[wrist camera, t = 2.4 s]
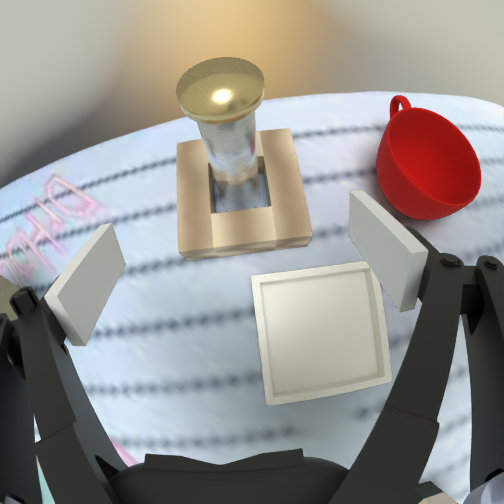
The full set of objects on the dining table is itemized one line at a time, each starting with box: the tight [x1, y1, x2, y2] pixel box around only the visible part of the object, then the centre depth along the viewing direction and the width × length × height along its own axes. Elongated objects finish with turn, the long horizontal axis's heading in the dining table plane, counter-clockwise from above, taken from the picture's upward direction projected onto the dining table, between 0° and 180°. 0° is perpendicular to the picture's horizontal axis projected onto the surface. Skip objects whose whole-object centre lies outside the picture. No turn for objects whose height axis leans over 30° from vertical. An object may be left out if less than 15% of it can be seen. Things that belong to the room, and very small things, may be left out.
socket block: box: [177, 128, 312, 261], centre depth 34 cm, size 14×14×4 cm
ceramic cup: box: [376, 95, 481, 220], centre depth 31 cm, size 13×17×10 cm
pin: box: [176, 57, 264, 211], centre depth 27 cm, size 6×6×19 cm
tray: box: [251, 261, 392, 406], centre depth 30 cm, size 14×14×3 cm
